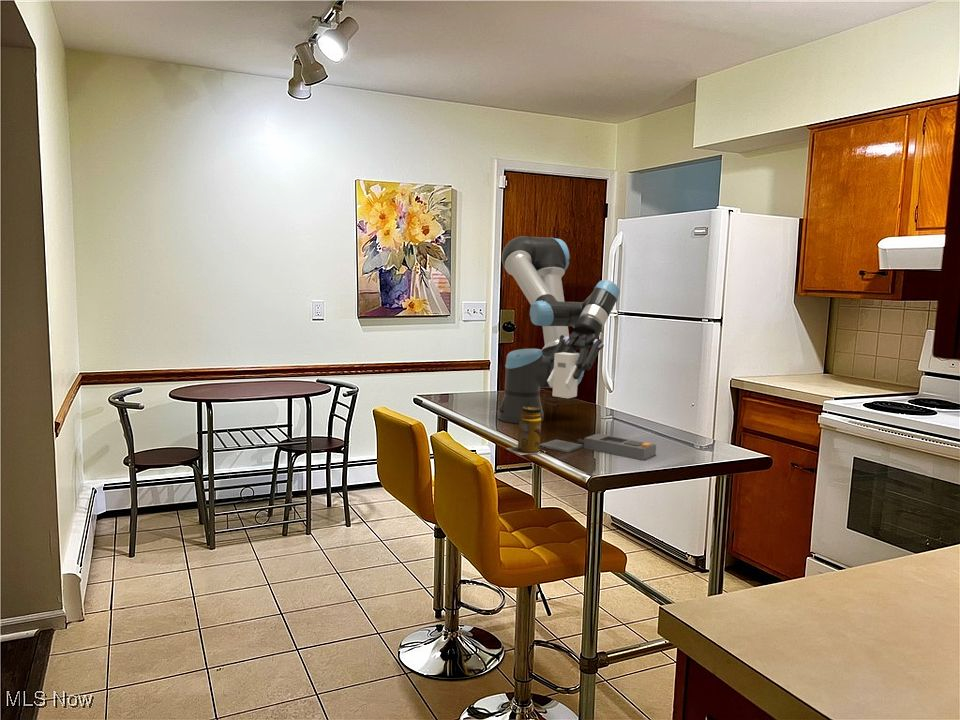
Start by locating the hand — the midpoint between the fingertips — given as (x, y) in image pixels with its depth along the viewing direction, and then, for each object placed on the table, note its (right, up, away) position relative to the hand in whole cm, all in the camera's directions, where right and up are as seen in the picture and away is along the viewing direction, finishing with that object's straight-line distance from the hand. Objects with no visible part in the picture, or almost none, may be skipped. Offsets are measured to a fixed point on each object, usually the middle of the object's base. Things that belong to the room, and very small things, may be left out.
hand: (558, 385), depth 197 cm
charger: (+2, -3, +3) cm, 5 cm away
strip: (+16, -18, +4) cm, 24 cm away
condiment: (-9, -18, -1) cm, 20 cm away
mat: (+1, -18, +5) cm, 18 cm away
